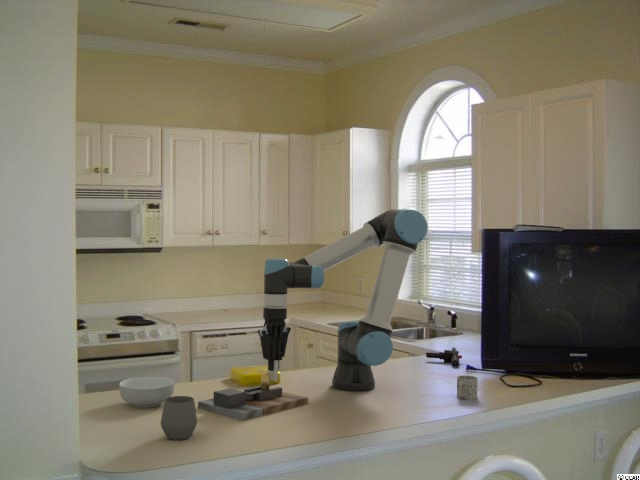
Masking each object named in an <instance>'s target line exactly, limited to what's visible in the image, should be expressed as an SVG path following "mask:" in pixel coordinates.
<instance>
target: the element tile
mask: <svg viewBox="0 0 640 480" xmlns="http://www.w3.org/2000/svg"><path fill="white" fill-rule="evenodd" d="M262 373H269V370H268V364H267V365H265V364H264V365H250V366H249V365H247V366H235V367H234V366H233V367H231V368H230V380H232V381H233V382H235V383H236V384H237V385H239V386H241V387H248V386H249V387H251V386H252V387H254V386H261V374H262ZM280 383H281V372H280V371H279V370H278V381H271V380H270V385H274V384H275V385H277V384H280Z"/></svg>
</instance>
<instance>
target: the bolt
mask: <svg viewBox="0 0 640 480" xmlns="http://www.w3.org/2000/svg"><path fill="white" fill-rule="evenodd" d="M260 386H261V389H259V390H254V391H250V392H246V395H245V400H249V401H252V400H256V392H258V391H263V390H267V389H271V384H270V373H262V374H261V385H260Z"/></svg>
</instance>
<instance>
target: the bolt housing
mask: <svg viewBox="0 0 640 480" xmlns="http://www.w3.org/2000/svg"><path fill="white" fill-rule="evenodd" d="M259 389H261V385H256V386H252V387H248V388H244V389H243V391H242V390H239V389H234V388H230V387H229V388H225V389H220V390H215V391H213V398H214V399H213V405H215V406H219V407H223V408H227V409H232V408H236V407H240V406H244V405H245V395H246V392H250V391H254V390H259ZM282 392H283V387H280V386H276V387H273V388H270V389H267V390H263V391H258V392H256V401H258V402H261V401H265V400H270V399H274V398H278V397H282Z"/></svg>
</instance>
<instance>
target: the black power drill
mask: <svg viewBox="0 0 640 480" xmlns="http://www.w3.org/2000/svg"><path fill="white" fill-rule="evenodd" d="M459 354H460V351H459V350H457V348H456V347H452V348H451V350H449V349H444V350H443V352H440V351H439V352H426V353H425V358H427V359H428V358H430V359H439V360H441V361H443V363H451V365H452V367H453V368H457V367H458V366H459V365H460V359H463V355H459Z"/></svg>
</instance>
